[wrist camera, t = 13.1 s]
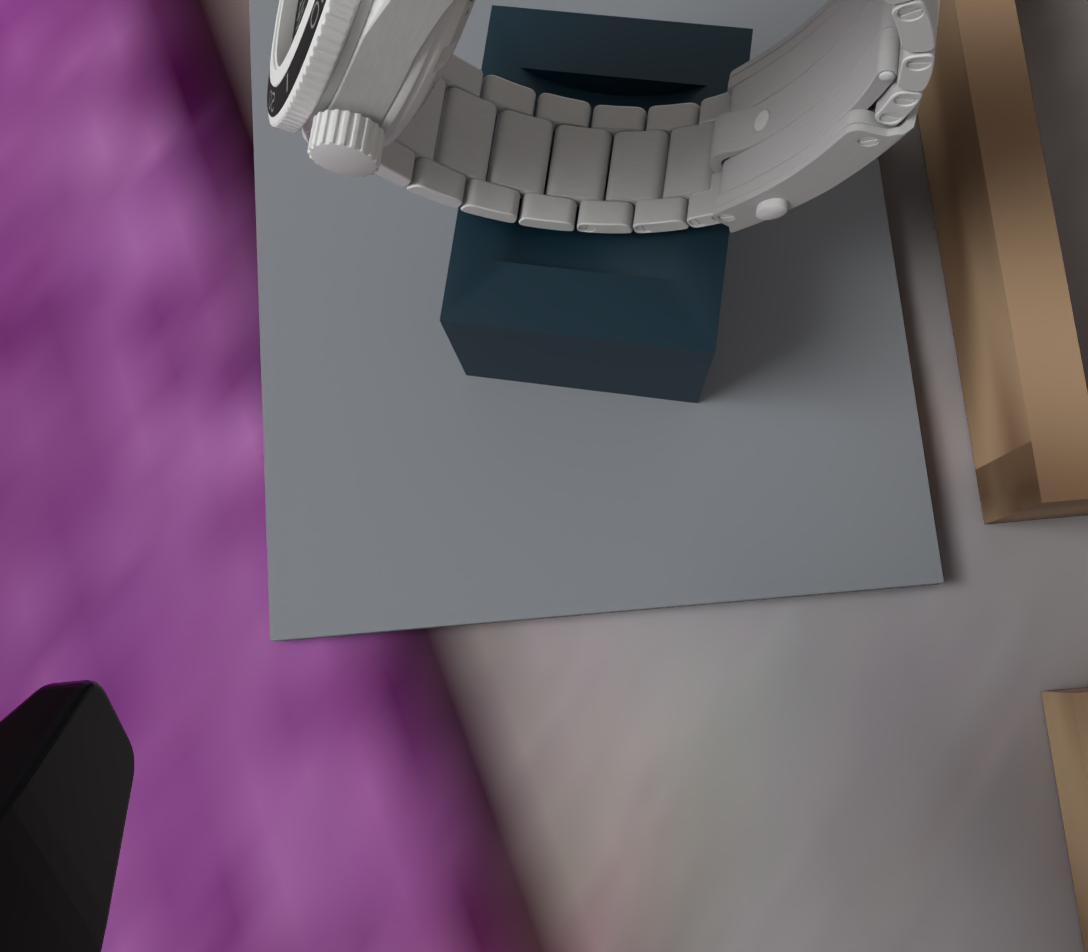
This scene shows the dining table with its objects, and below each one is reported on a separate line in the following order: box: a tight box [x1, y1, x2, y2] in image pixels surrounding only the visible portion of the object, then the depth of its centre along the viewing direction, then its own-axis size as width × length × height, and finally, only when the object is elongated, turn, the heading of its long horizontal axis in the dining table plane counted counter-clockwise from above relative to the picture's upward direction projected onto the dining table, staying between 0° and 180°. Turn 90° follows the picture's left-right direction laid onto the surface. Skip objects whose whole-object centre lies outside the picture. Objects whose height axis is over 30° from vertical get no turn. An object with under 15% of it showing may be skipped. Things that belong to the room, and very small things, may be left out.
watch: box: [267, 0, 940, 403], centre depth 14 cm, size 6×8×11 cm
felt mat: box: [249, 0, 944, 641], centre depth 20 cm, size 14×12×1 cm
